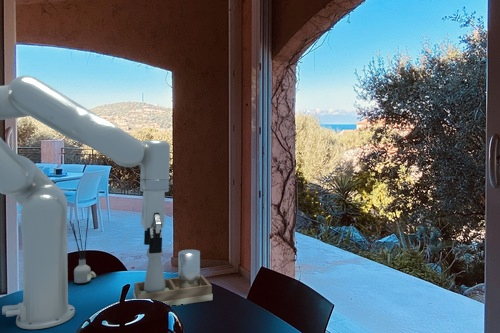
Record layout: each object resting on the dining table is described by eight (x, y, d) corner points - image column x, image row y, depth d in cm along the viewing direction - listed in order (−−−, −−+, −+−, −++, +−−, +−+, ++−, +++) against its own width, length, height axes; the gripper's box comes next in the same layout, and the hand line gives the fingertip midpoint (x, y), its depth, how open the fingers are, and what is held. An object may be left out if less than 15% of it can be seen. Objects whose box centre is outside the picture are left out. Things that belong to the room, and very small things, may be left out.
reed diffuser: (81, 288, 111) (81, 222, 111) (60, 287, 112) (59, 221, 112) (99, 277, 121) (99, 216, 121) (80, 276, 122) (79, 215, 122)
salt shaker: (160, 299, 99) (160, 251, 98) (140, 298, 100) (139, 250, 99) (168, 291, 104) (168, 245, 104) (149, 290, 105) (149, 244, 105)
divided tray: (137, 311, 95) (137, 295, 95) (133, 296, 105) (133, 282, 105) (212, 299, 103) (212, 285, 103) (202, 287, 113) (202, 274, 113)
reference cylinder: (181, 295, 102) (180, 256, 102) (176, 288, 107) (176, 250, 107) (202, 292, 104) (202, 253, 104) (196, 285, 110) (196, 248, 109)
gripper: (136, 183, 108) (134, 242, 108) (144, 188, 92) (142, 257, 92) (162, 183, 111) (161, 241, 111) (174, 188, 95) (172, 255, 95)
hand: (152, 248), depth 101 cm, fingers open, 9 cm apart
